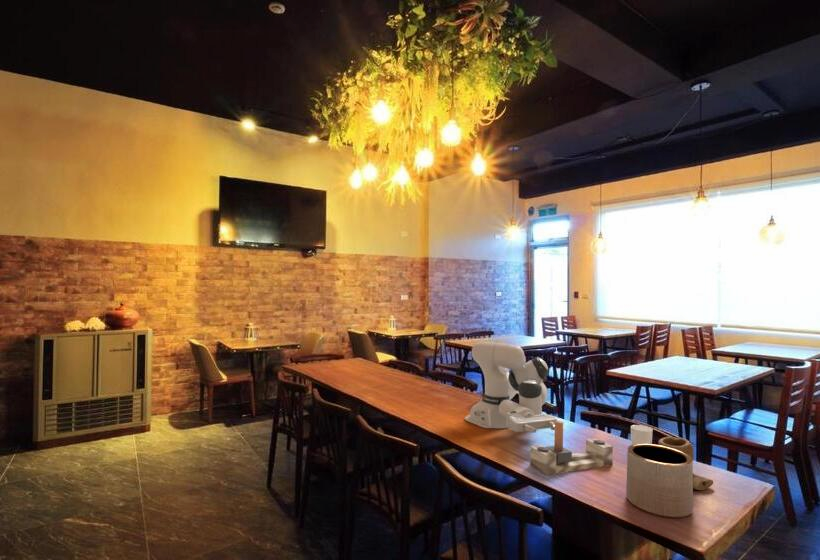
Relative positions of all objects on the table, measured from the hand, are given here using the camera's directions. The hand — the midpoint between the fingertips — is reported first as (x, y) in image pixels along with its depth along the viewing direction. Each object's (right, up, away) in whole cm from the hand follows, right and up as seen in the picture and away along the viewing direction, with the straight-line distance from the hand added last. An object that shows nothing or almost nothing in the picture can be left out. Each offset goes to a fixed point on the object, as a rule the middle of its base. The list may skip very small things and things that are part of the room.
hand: (545, 429), depth 170 cm
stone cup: (+40, -12, -21) cm, 47 cm away
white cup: (+41, -12, +7) cm, 43 cm away
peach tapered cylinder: (+2, -8, -9) cm, 13 cm away
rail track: (+8, -11, -7) cm, 15 cm away
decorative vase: (0, -12, +78) cm, 79 cm away
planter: (+24, -11, -36) cm, 44 cm away
